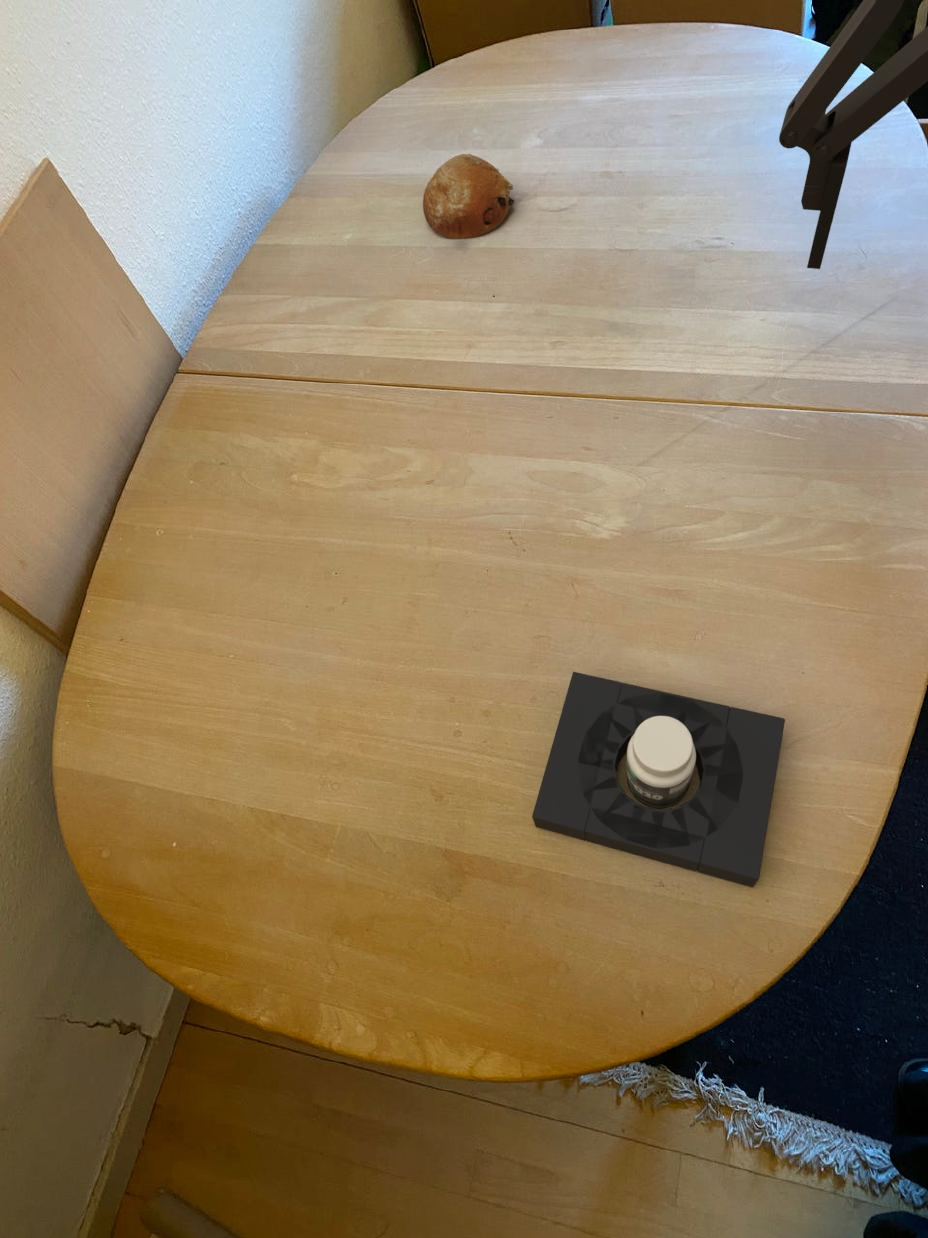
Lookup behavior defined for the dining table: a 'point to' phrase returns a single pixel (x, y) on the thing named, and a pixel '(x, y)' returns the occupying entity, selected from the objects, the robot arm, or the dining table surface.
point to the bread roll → (466, 198)
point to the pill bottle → (660, 761)
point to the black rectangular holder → (684, 836)
